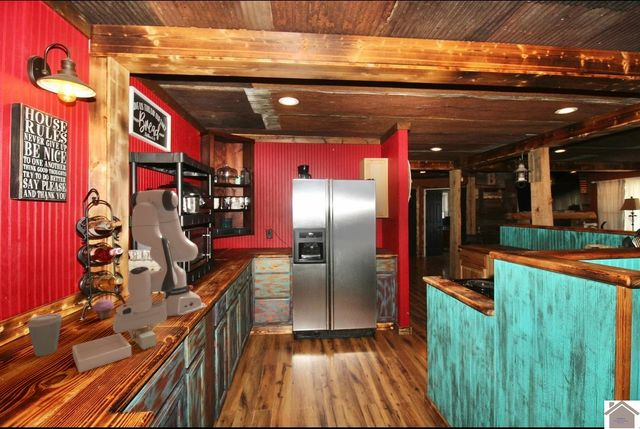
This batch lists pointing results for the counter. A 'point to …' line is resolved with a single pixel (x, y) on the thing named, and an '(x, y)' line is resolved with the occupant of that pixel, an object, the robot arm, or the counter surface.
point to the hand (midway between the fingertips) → (141, 336)
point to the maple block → (140, 332)
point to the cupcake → (103, 308)
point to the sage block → (147, 340)
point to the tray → (100, 352)
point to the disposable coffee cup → (45, 333)
